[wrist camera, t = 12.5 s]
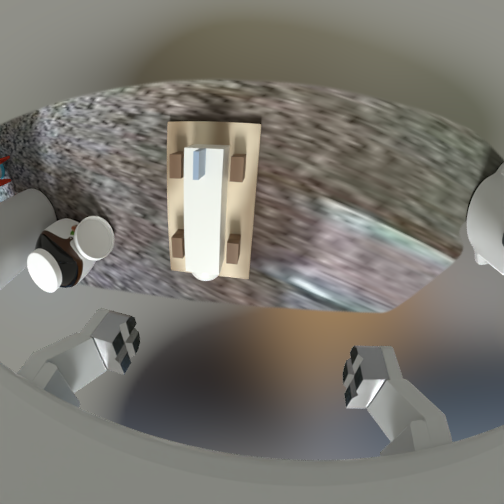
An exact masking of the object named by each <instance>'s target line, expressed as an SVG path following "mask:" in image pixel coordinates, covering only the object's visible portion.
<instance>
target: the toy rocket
mask: <svg viewBox="0 0 504 504" xmlns="http://www.w3.org/2000/svg"><path fill="white" fill-rule="evenodd" d="M9 158H10V156H7V157H4V158H1V159H0V186H2V185H4V184H6V183H8V182H10V181H11V179H3V177H4V174H5V170H4V166H3V164H2V163H3V162H4V161H6V160H8V159H9Z"/></svg>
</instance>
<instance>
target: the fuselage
mask: <svg viewBox="0 0 504 504" xmlns="http://www.w3.org/2000/svg"><path fill="white" fill-rule="evenodd" d="M229 152H230V145H209V144H194V145H191V146H188V147H185V148H184V241H185V266H186V271H189V272H192V274H193V275H194V276H195V277H196V278H197V279H199V280H202V281H210V280H213V279H214V278H216V277H217V276H218V275H219V274H220V272H221V269H222V265H223V262H224V259H225V232H226V208H227V188H228V169H229Z"/></svg>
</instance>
